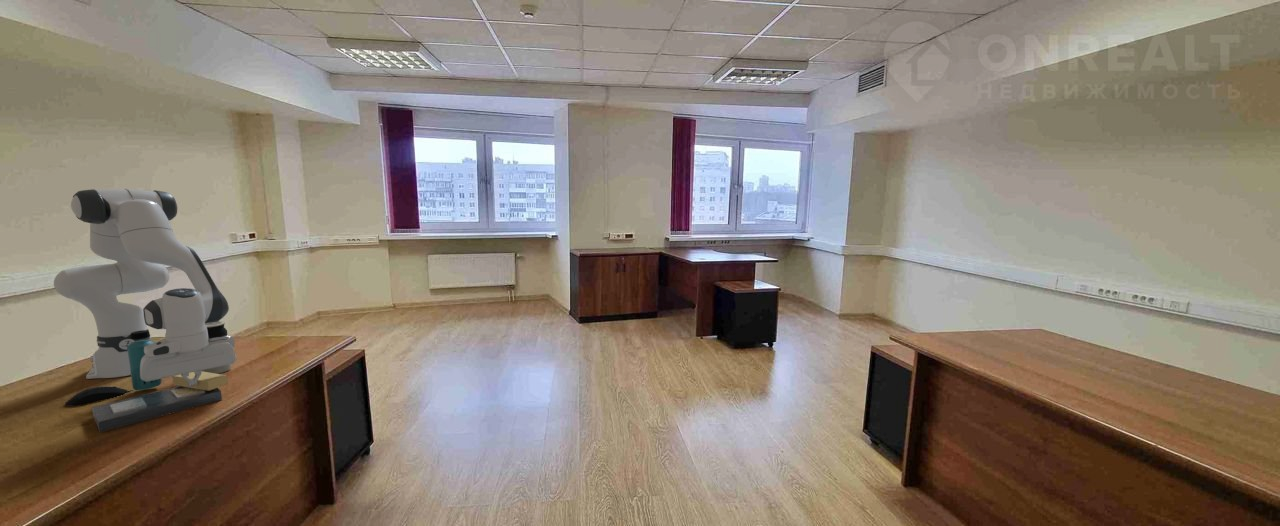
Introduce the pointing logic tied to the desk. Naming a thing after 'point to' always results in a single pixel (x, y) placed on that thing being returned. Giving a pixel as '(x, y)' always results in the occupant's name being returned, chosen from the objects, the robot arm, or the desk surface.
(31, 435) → the desk surface
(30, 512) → the desk surface
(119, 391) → the gaming mouse
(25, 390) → the desk surface
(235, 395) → the desk surface
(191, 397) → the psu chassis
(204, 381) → the beige block
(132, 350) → the beverage bottle
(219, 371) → the travel mug
